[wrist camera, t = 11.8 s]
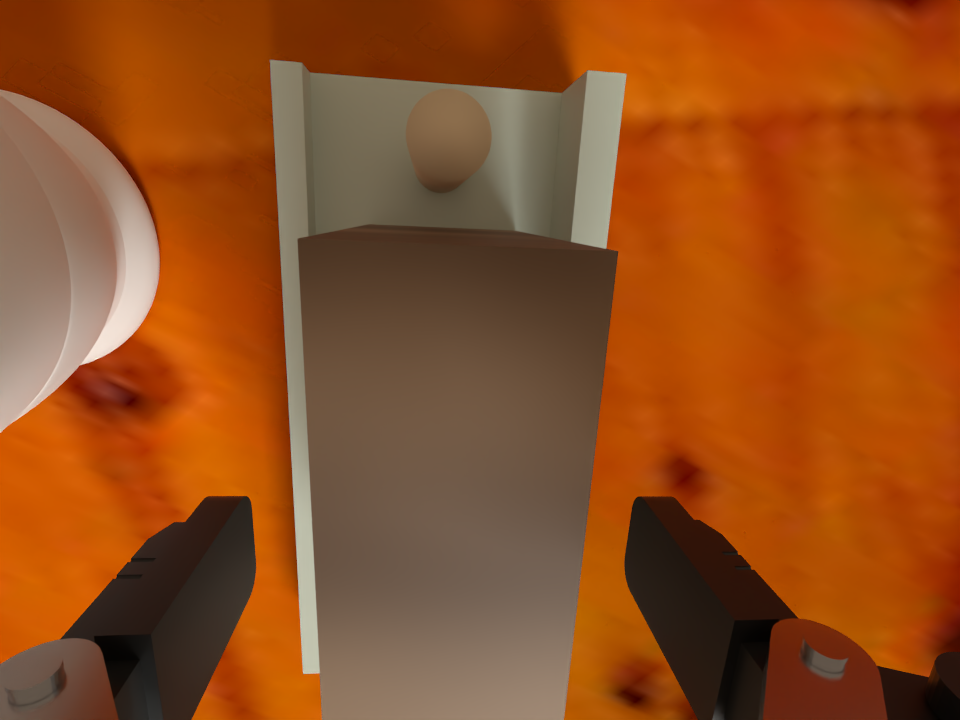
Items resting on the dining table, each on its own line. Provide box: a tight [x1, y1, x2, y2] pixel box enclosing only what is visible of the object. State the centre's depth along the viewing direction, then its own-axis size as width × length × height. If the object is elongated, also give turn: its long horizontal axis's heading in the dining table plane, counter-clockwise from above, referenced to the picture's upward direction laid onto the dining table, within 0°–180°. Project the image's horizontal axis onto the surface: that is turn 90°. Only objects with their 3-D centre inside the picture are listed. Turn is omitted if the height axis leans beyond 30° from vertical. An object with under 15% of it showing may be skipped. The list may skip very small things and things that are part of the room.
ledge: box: [270, 60, 626, 674], centre depth 15 cm, size 20×9×8 cm, turn 177°
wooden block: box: [297, 224, 618, 720], centre depth 13 cm, size 12×5×9 cm, turn 177°
